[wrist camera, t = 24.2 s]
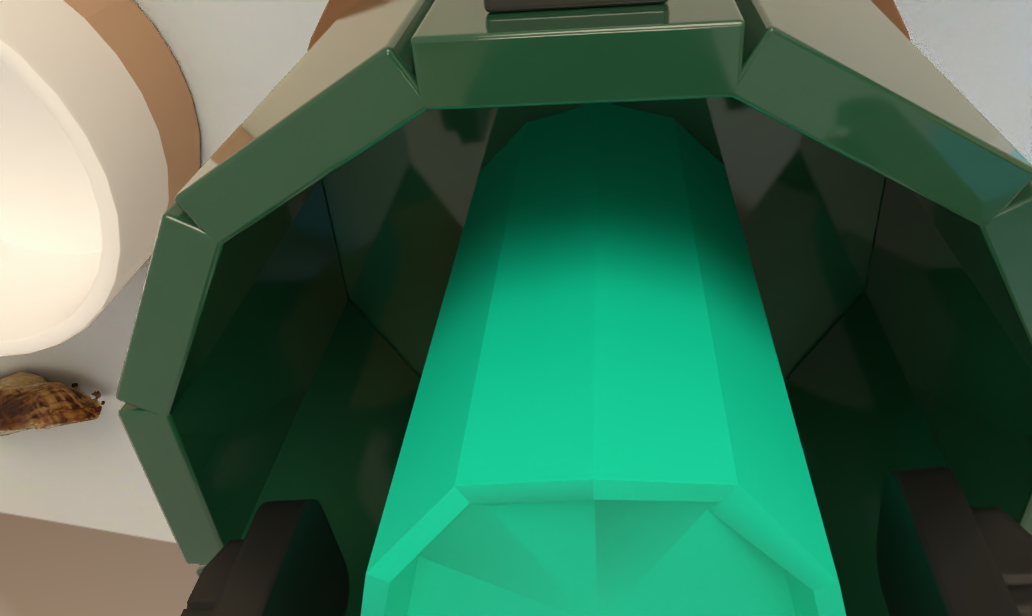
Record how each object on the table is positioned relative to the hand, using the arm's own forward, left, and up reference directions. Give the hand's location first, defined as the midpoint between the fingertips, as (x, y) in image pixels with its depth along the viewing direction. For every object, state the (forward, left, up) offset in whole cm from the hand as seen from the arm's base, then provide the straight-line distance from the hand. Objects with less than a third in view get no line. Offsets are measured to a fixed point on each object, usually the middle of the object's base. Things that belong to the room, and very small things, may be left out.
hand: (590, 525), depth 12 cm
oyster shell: (+18, -36, -28) cm, 49 cm away
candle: (0, 0, -9) cm, 9 cm away
